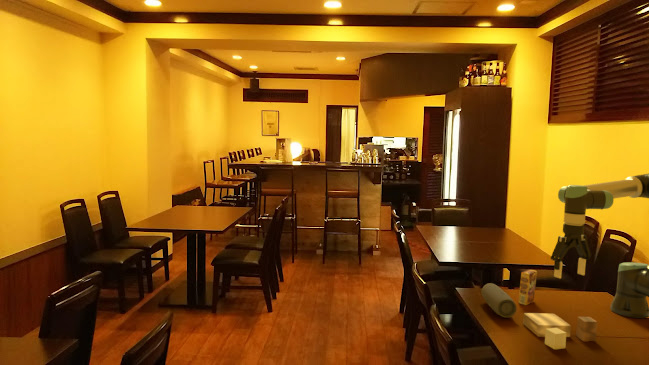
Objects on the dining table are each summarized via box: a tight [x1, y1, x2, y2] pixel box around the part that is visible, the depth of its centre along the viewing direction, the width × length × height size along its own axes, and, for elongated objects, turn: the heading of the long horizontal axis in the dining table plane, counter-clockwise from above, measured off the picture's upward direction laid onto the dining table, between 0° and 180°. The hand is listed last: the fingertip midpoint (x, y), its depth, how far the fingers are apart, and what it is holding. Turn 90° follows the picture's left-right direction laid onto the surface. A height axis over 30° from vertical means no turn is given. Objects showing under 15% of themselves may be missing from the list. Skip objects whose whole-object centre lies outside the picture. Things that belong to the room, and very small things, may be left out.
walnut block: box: [575, 316, 598, 342], centre depth 189 cm, size 5×5×8 cm
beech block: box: [522, 312, 572, 338], centre depth 197 cm, size 13×13×5 cm
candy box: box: [518, 269, 538, 306], centre depth 229 cm, size 9×4×15 cm, turn 134°
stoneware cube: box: [544, 328, 567, 350], centre depth 182 cm, size 5×5×6 cm
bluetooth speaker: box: [480, 282, 518, 319], centre depth 217 cm, size 23×9×10 cm, turn 179°
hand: (569, 275), depth 194 cm, fingers open, 13 cm apart
